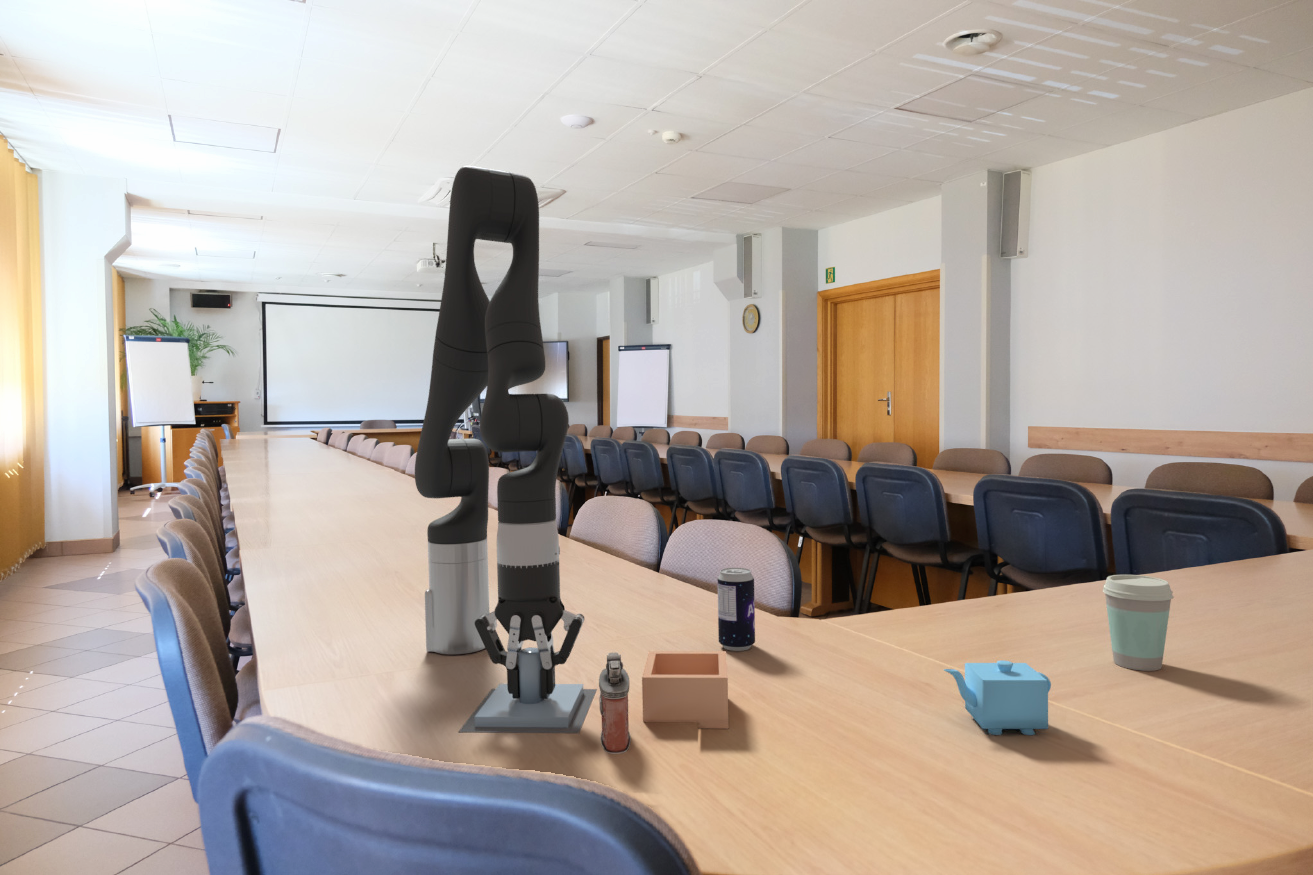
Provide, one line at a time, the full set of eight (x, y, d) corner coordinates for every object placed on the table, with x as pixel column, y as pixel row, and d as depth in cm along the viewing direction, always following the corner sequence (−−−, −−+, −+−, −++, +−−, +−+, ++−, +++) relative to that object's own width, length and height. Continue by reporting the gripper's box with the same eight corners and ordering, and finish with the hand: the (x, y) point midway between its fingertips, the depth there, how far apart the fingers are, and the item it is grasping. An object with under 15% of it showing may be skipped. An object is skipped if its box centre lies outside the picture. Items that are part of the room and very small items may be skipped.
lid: (474, 726, 92) (473, 665, 92) (500, 692, 103) (498, 638, 103) (568, 727, 91) (566, 665, 91) (583, 693, 102) (582, 638, 102)
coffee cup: (1163, 657, 114) (1163, 575, 114) (1181, 677, 106) (1181, 588, 106) (1096, 652, 117) (1097, 572, 116) (1109, 671, 109) (1109, 585, 108)
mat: (458, 738, 91) (458, 731, 91) (492, 694, 105) (492, 688, 105) (579, 739, 90) (578, 732, 90) (596, 695, 104) (596, 689, 104)
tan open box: (643, 727, 93) (641, 677, 92) (649, 696, 103) (648, 651, 102) (728, 728, 92) (727, 677, 92) (726, 697, 102) (726, 651, 102)
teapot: (952, 736, 89) (951, 670, 88) (936, 715, 95) (935, 653, 94) (1062, 737, 88) (1061, 670, 88) (1039, 716, 94) (1039, 653, 94)
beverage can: (753, 653, 120) (752, 574, 119) (716, 651, 121) (715, 574, 121) (756, 642, 125) (755, 567, 125) (721, 640, 127) (719, 566, 126)
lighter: (600, 731, 92) (598, 646, 92) (628, 729, 92) (627, 645, 92) (601, 761, 84) (598, 669, 84) (632, 760, 84) (630, 667, 84)
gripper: (462, 563, 93) (466, 707, 94) (580, 562, 92) (583, 708, 93) (480, 552, 101) (484, 685, 101) (589, 551, 100) (593, 686, 100)
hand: (532, 695), depth 97 cm, fingers closed on lid, 3 cm apart
